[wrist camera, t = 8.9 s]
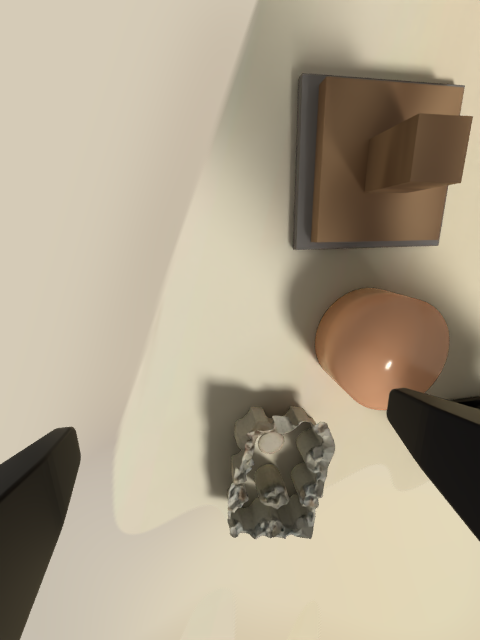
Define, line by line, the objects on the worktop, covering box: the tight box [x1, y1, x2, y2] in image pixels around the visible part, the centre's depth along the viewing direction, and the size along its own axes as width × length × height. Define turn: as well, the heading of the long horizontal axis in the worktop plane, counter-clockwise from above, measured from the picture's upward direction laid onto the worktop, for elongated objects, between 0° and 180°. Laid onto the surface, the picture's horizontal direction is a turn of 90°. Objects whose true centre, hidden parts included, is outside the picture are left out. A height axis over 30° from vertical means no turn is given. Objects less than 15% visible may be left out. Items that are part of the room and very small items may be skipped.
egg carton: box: [227, 406, 335, 539], centre depth 23 cm, size 11×8×4 cm
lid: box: [311, 77, 473, 242], centre depth 17 cm, size 9×9×5 cm
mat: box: [293, 73, 465, 250], centre depth 20 cm, size 11×10×1 cm
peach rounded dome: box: [315, 288, 449, 410], centre depth 22 cm, size 8×8×4 cm
